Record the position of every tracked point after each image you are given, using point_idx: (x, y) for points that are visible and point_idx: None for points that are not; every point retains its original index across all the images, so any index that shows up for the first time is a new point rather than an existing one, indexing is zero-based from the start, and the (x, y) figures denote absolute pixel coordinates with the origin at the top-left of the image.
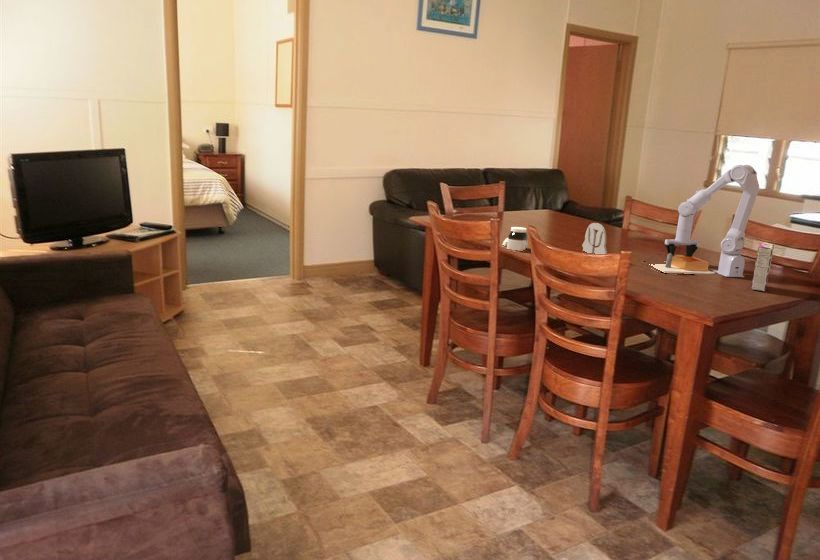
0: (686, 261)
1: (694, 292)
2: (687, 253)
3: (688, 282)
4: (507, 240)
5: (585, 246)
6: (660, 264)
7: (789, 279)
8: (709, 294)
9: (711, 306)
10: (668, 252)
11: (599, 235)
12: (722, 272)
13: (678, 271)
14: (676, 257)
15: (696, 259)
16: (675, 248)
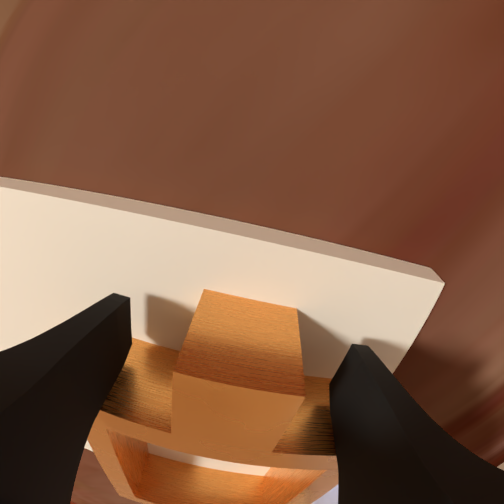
0: (125, 496)
1: (78, 487)
2: (378, 442)
3: (92, 474)
4: None
5: None
6: (28, 323)
7: (498, 457)
8: (104, 501)
9: (81, 501)
10: (35, 356)
11: None
12: (314, 501)
13: (88, 448)
14: (101, 447)
15: (293, 492)
16: (63, 501)
